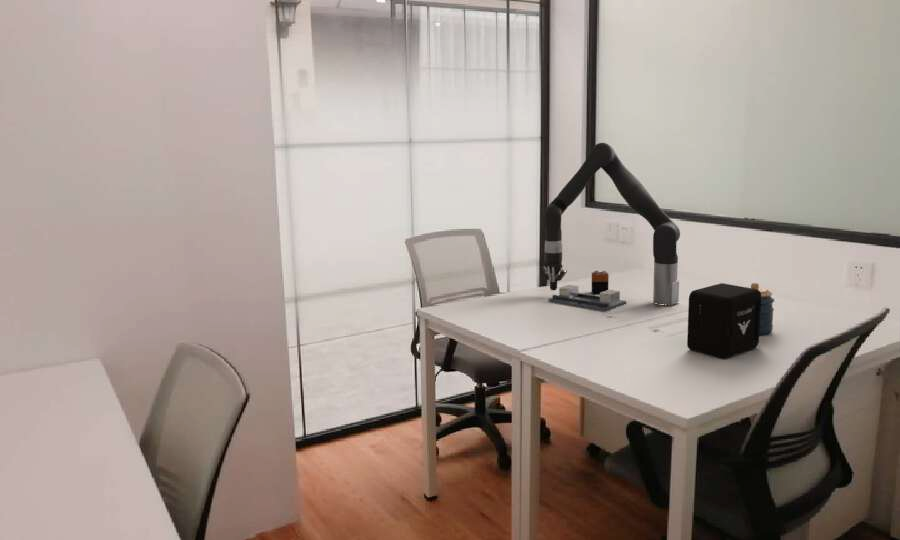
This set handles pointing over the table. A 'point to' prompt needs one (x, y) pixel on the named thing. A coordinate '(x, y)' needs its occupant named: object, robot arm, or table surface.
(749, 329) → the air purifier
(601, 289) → the battery
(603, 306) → the dark grey piece
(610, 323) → the table surface
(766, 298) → the canister
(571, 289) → the block
